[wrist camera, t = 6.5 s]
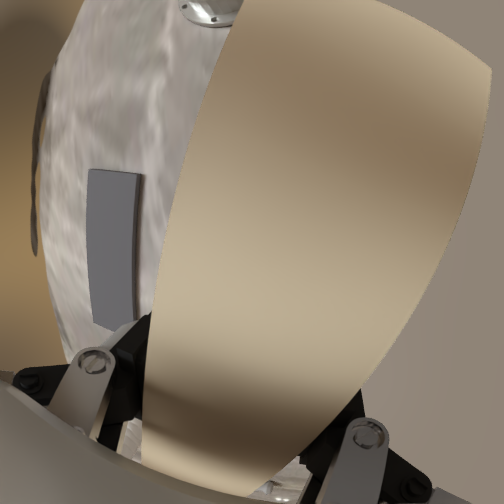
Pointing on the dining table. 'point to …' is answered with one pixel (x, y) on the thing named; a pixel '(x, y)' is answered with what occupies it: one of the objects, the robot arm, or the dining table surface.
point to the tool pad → (112, 245)
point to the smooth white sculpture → (266, 488)
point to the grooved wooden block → (302, 229)
